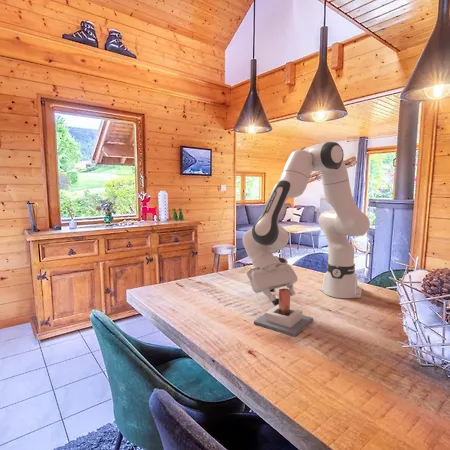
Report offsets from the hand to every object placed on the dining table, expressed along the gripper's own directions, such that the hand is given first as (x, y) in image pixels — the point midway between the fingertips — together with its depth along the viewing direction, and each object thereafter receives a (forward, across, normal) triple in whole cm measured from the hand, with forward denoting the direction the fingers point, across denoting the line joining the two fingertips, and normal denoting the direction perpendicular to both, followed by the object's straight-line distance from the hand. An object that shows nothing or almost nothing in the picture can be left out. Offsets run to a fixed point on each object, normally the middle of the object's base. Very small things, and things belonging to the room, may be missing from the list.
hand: (283, 297), depth 110 cm
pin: (+6, 0, +5) cm, 8 cm away
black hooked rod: (-5, +12, +19) cm, 23 cm away
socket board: (+7, 0, +6) cm, 9 cm away
